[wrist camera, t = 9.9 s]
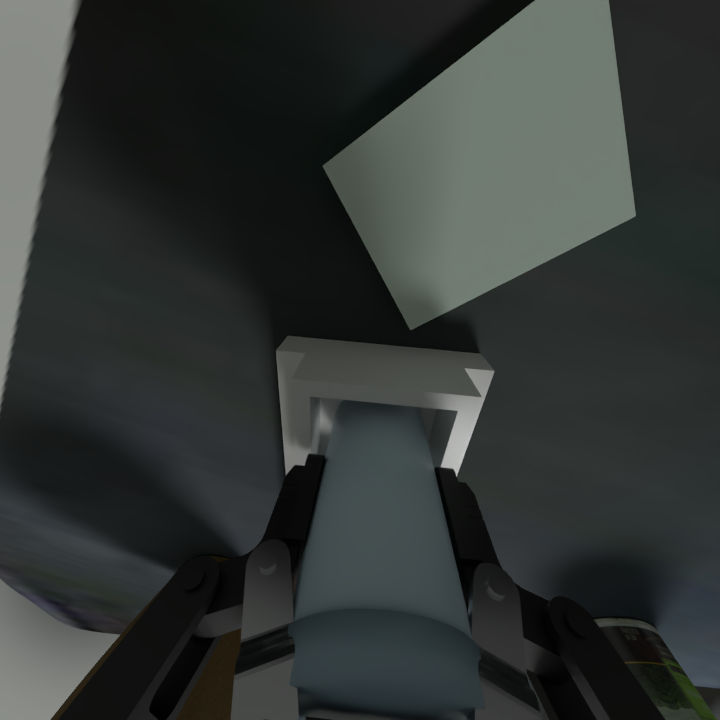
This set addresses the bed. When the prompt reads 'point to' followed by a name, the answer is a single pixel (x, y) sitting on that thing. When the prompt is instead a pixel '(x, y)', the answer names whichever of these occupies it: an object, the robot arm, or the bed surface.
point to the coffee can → (655, 668)
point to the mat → (494, 161)
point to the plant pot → (212, 690)
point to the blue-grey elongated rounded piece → (381, 581)
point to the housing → (378, 391)
